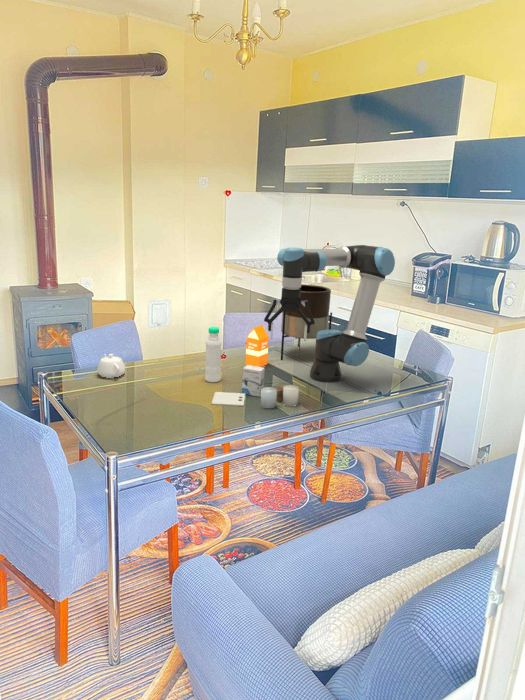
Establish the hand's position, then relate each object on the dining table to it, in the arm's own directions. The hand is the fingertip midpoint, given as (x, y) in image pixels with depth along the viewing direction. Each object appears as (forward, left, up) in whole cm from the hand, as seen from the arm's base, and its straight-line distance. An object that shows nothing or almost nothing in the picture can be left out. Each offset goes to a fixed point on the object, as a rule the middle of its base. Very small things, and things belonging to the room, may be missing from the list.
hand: (288, 339), depth 207 cm
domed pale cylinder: (+7, +6, -27) cm, 28 cm away
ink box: (+14, -7, -27) cm, 31 cm away
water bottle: (+33, -21, -27) cm, 47 cm away
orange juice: (+14, -48, -27) cm, 57 cm away
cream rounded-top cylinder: (-2, +2, -27) cm, 27 cm away
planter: (-10, -67, -27) cm, 73 cm away
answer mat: (+23, +1, -27) cm, 35 cm away
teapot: (+80, -21, -27) cm, 87 cm away
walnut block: (+2, -3, -27) cm, 27 cm away
